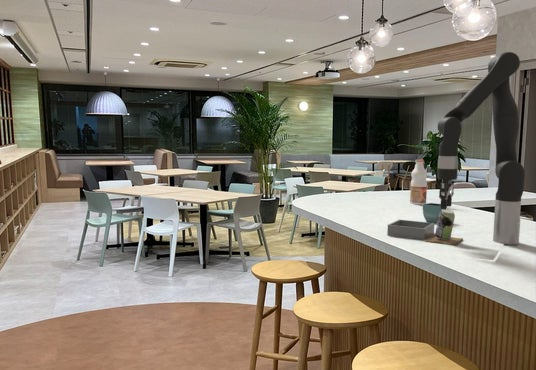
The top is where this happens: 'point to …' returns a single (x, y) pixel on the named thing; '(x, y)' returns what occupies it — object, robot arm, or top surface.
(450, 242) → the pad
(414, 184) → the fruit juice
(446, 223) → the beverage can
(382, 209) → the top surface
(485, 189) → the top surface
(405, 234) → the bin
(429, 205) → the flower pot
